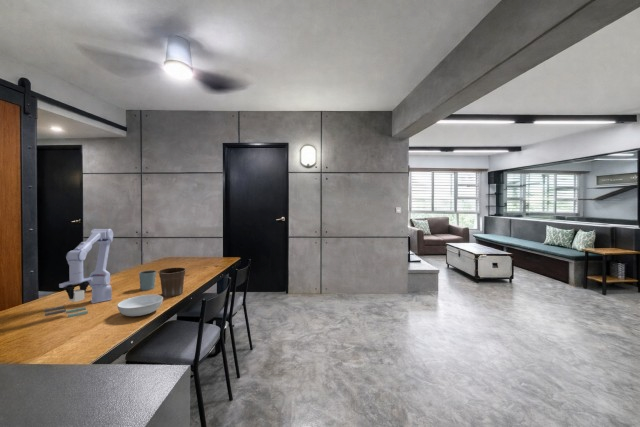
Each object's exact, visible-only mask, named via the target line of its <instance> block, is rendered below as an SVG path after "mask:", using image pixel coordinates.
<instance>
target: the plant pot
mask: <svg viewBox="0 0 640 427" xmlns="http://www.w3.org/2000/svg"><path fill="white" fill-rule="evenodd" d="M186 270H187V268H185V267H169V268H168V267H167V268H162V269H159V270H158V272H157V273H158V277H159V280H160V285H161V286H160V287H161V296H162V297H163V298H164V297H165V298H172V297H178V296H180V295H183V292H184V281H185V275H186Z"/></svg>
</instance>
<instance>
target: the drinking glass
mask: <svg viewBox="0 0 640 427" xmlns="http://www.w3.org/2000/svg"><path fill="white" fill-rule="evenodd" d="M138 276H139V290H140V291H151V290H154V289H155V286H156V284H155V283H156V276H157V271H156V270H155V269H154V270H153V269H152V270H151V269H150V270H149V269H148V270H142V271H139V272H138Z"/></svg>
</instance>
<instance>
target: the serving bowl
mask: <svg viewBox="0 0 640 427" xmlns="http://www.w3.org/2000/svg"><path fill="white" fill-rule="evenodd" d="M163 301H164V296H162V295H159V294H143V295H138V296H137V295H136V296H133V297H129V298H125V299H123V300H122V301H121V300H120V302H118V303H117V310H118V311H119V313H120V314H121V315H123V316H126V317H142V316H146V315H149V314H151V313H154V312H155V311H157V310H158V309H159V308H160V307H161V306H162V303H164V302H163Z"/></svg>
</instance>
